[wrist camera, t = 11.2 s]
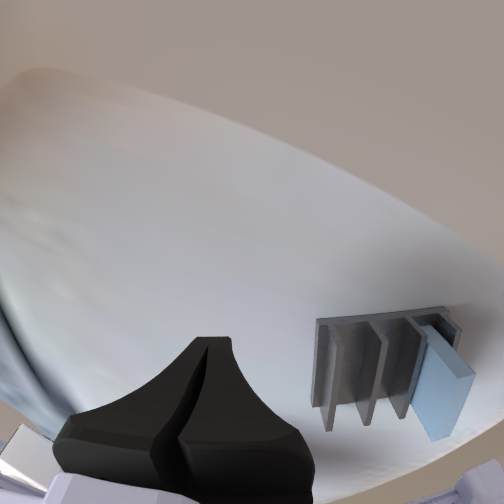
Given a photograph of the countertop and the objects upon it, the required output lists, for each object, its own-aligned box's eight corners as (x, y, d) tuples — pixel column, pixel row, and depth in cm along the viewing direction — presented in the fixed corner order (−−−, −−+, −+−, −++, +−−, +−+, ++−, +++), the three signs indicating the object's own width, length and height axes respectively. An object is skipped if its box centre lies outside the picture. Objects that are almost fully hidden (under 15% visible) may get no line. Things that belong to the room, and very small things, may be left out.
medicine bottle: (21, 421, 27) (-22, 485, 16) (70, 450, 28) (34, 522, 17) (23, 447, 29) (-12, 505, 18) (67, 473, 30) (38, 536, 19)
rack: (426, 382, 25) (444, 408, 21) (310, 399, 25) (318, 432, 21) (445, 305, 23) (470, 327, 19) (316, 318, 23) (327, 348, 19)
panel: (416, 383, 24) (449, 436, 17) (400, 386, 24) (431, 441, 17) (430, 324, 22) (476, 373, 16) (413, 327, 22) (457, 378, 16)
